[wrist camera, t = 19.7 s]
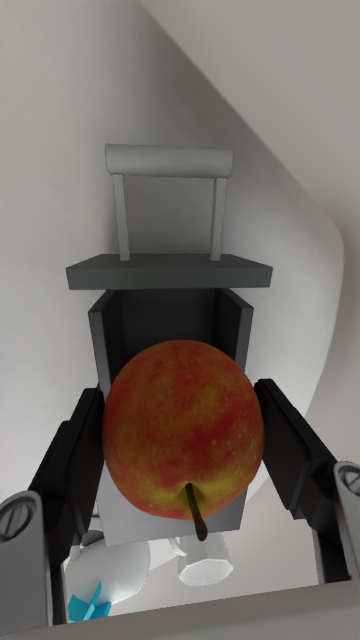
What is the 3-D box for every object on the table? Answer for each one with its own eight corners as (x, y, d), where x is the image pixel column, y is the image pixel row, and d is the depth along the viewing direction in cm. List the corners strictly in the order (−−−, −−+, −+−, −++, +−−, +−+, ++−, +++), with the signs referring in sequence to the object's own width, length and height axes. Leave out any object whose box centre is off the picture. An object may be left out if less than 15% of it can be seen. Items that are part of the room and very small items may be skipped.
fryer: (109, 352, 23) (79, 428, 14) (224, 348, 24) (263, 415, 15) (121, 448, 29) (105, 546, 20) (215, 441, 30) (239, 529, 21)
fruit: (202, 423, 15) (245, 608, 8) (103, 399, 13) (36, 602, 6) (251, 340, 13) (378, 486, 6) (140, 299, 11) (108, 426, 4)
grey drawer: (90, 167, 16) (36, 115, 9) (238, 172, 17) (296, 130, 10) (116, 382, 24) (98, 449, 16) (218, 377, 25) (244, 437, 17)
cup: (195, 517, 36) (204, 591, 29) (150, 496, 33) (147, 573, 25) (226, 496, 35) (244, 567, 27) (182, 471, 31) (190, 545, 24)
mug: (147, 627, 26) (69, 659, 28) (162, 547, 35) (103, 574, 37) (100, 541, 27) (25, 577, 28) (126, 483, 36) (69, 512, 37)
